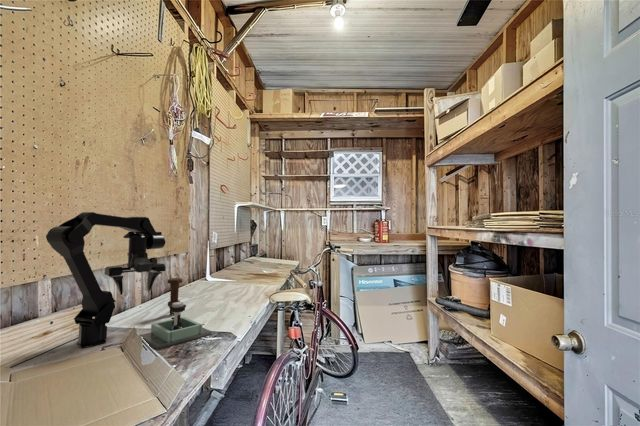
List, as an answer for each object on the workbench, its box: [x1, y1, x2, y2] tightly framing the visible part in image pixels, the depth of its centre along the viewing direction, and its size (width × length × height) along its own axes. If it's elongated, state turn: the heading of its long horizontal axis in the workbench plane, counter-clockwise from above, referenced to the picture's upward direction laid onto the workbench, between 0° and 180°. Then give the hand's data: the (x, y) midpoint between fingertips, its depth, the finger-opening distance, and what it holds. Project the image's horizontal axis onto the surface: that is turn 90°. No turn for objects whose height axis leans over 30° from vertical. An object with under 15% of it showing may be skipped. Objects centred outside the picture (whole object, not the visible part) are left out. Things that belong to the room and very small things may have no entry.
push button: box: [168, 301, 187, 331], centre depth 104 cm, size 7×5×10 cm
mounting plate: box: [139, 326, 212, 350], centre depth 104 cm, size 18×14×1 cm
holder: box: [150, 316, 203, 343], centre depth 104 cm, size 11×13×3 cm
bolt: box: [167, 277, 183, 316], centre depth 130 cm, size 6×5×15 cm
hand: (135, 292), depth 111 cm, fingers open, 9 cm apart
